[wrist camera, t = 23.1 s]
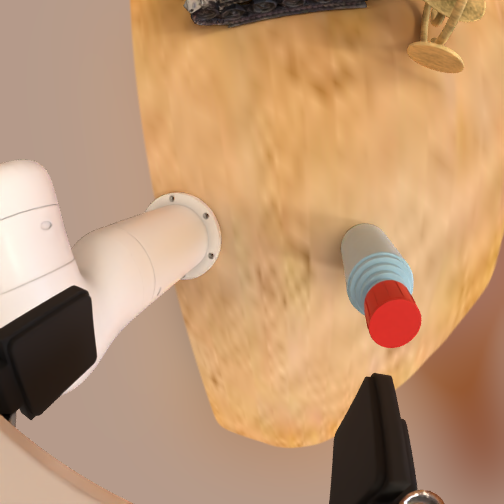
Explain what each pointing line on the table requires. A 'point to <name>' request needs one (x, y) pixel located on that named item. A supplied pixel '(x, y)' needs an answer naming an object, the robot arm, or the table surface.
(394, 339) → the cap
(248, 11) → the tank
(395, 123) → the table surface
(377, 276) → the bottle
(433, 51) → the wall sconce
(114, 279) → the robot arm
